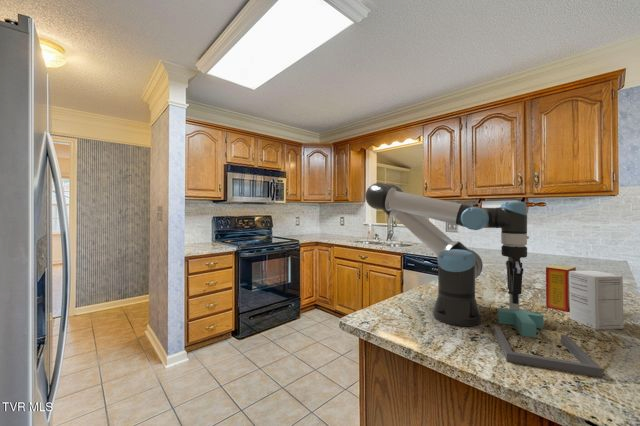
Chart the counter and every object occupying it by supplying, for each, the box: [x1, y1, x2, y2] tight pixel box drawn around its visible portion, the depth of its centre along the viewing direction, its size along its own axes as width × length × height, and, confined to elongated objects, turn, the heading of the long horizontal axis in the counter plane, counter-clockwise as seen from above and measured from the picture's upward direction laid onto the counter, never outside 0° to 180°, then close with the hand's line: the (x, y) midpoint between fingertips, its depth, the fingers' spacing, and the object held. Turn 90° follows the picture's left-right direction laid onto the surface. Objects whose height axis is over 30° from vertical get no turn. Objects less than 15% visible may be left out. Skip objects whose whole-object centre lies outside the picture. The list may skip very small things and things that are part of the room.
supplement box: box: [569, 270, 625, 331], centre depth 92 cm, size 10×9×17 cm
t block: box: [496, 307, 545, 339], centre depth 89 cm, size 12×12×4 cm
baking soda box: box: [545, 264, 577, 313], centre depth 109 cm, size 10×6×16 cm
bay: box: [493, 325, 603, 379], centre depth 74 cm, size 18×18×2 cm
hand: (514, 311), depth 99 cm, fingers closed
